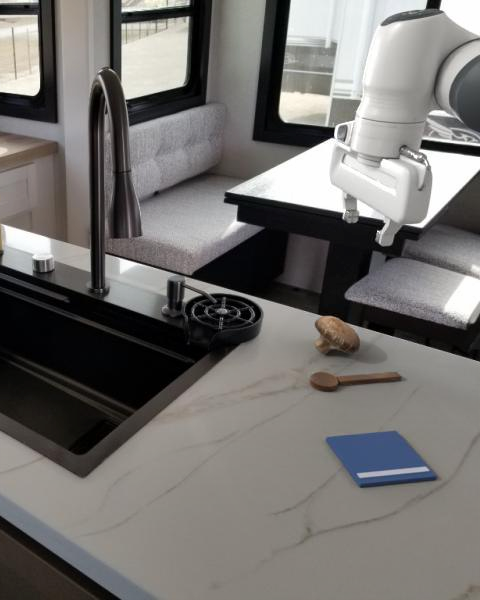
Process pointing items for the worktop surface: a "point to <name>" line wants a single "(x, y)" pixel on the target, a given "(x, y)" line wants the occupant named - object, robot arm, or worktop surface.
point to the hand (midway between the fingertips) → (365, 232)
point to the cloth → (379, 459)
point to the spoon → (349, 379)
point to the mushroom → (336, 336)
